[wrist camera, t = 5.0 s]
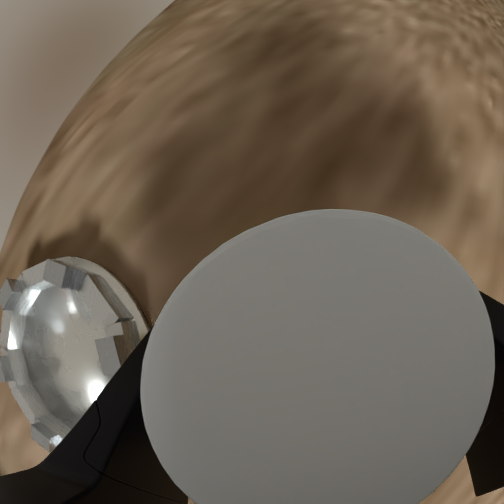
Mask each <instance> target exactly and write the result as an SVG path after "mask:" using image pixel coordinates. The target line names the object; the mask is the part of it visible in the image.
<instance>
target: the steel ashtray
mask: <svg viewBox="0 0 504 504" xmlns="http://www.w3.org/2000/svg"><path fill="white" fill-rule="evenodd" d="M0 304H1V307H2V309H3V316H2V326H1V339H0V346H2V347H3V348H0V349H1V354H2V356H0V382H8V383H9V387H10V389H12V391H11V392H12V394H13V396H14V397H15V399H16V401H17V403H18V404H19V406H20V408H21V409H22V411H23V412H24V414H25V416H26V417H27V419H28V420H29V422H30V423H31V435H32V439H34V440H35V441H36V442H37V443H38V444H40V445H41V446H42V447H43V448H45V449H46V450H47V451H48V452H51V451H53V450H54V448H55V447H56V446H57V445H58V444H59V443H60V442H61V441H62V440H63V438H64V437H65V436H66V435H67V434H68V433H69V432H70V430H71V429H72V428H73V427H74V426H75V425H76V423H77V422H78V421H79V420H80V419H81V417H82V416H83V415H84V413H85V412H86V411H87V410H88V408H89V407H90V406H91V404H92V403H93V402H94V400H97V399H96V398H97V396H98V395H99V394H100V393H101V391H102V390H103V389H104V387H105V386H106V385H107V383H108V382H109V381H110V380H111V378H112V377H113V376H114V374H115V373H116V372H117V370H118V369H119V368H120V367H121V365H122V364H123V363H124V361H125V360H126V359H127V358H128V356H129V355H130V354H131V353H132V351H133V350H134V349H135V348H136V346H137V345H138V344H139V342H140V341H141V340H142V339H143V337H144V336H145V335H146V334H147V332H148V331H149V330H150V327H149V325H148V322H147V320H146V318H145V316H144V314H143V312H142V310H141V308H140V307H139V305H138V303H137V301H136V300H135V298H134V297H133V296H132V294H131V293H130V291H129V290H128V289H127V288H126V287H125V285H124V284H123V283H122V282H121V281H120V280H119V279H118V278H117V277H116V276H115V275H113V274H112V273H111V272H110V271H109V270H107V269H105V268H104V267H102V266H101V265H99V264H97V263H94V262H92V261H90V260H86V259H82V258H78V257H60V258H56V259H47V260H46V261H44V262H41V263H39V264H37V265H35V266H33V267H31V268H29V269H27V270H25V271H23V272H22V273H21V274H20V275H19V277H18V279H17V280H15V279H9V278H7V279H6V280H5V282H4V284H3V286H2V288H1V290H0Z"/></svg>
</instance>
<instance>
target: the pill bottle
mask: <svg viewBox="0 0 504 504" xmlns="http://www.w3.org/2000/svg"><path fill="white" fill-rule="evenodd" d="M494 355H495V349H494V340H493V333H492V328H491V323H490V319H489V316H488V312H487V309H486V306H485V304H484V301H483V299H482V297H481V295H480V293H479V290H478V289H477V287H476V285H475V284H474V282H473V281H472V279H471V278H470V276H469V275H468V273H467V272H466V270H465V269H464V268H463V267H462V266H461V265H460V263H459V262H458V261H457V260H456V259H455V258H454V257H453V256H452V255H451V254H450V253H449V252H448V251H447V250H446V249H445V248H444V247H442V246H441V245H440V244H439V243H437V242H436V241H435V240H433V239H432V238H430V237H428V236H427V235H426V234H424V233H423V232H422V231H420V230H418V229H416V228H414V227H412V226H411V225H408V224H406V223H404V222H401V221H399V220H397V219H394V218H391V217H389V216H385V215H381V214H377V213H373V212H366V211H358V210H347V209H321V210H310V211H305V212H300V213H294V214H289V215H285V216H282V217H278V218H275V219H273V220H270V221H268V222H265V223H263V224H261V225H258V226H256V227H253V228H251V229H248V230H246V231H244V232H242V233H241V234H239V235H237V236H235V237H234V238H232V239H230V240H228V241H227V242H225V243H223V244H222V245H220V246H219V247H218V248H217V249H216V250H214V251H213V252H212V253H211V254H209V255H208V256H207V257H205V258H204V259H203V260H202V261H201V262H200V263H199V264H198V265H197V266H196V267H195V268H194V269H193V270H192V271H191V272H190V273H189V274H188V275H187V276H186V277H185V278H184V279H183V280H182V281H181V282H180V284H179V285H178V286H177V288H176V289H175V290H174V292H173V293H172V295H171V296H170V298H169V299H168V301H167V302H166V304H165V305H164V307H163V309H162V311H161V313H160V314H159V316H158V318H157V320H156V322H155V324H154V327H153V329H152V331H151V334H150V337H149V340H148V344H147V347H146V351H145V354H144V358H143V364H142V373H141V387H140V396H141V406H142V414H143V419H144V424H145V428H146V431H147V434H148V437H149V439H150V442H151V445H152V447H153V449H154V451H155V453H156V455H157V457H158V459H159V461H160V463H161V465H162V466H163V468H164V469H165V471H166V472H167V474H168V475H169V476H170V478H171V479H172V480H173V482H174V483H175V484H176V485H177V486H178V487H179V488H180V489H181V490H182V491H183V492H184V493H185V494H186V495H187V496H188V497H189V498H190V499H191V500H192V501H193V502H195V503H196V504H418V503H420V502H421V501H422V500H423V499H425V498H426V497H427V496H429V495H430V494H431V493H432V492H434V491H435V490H436V489H437V488H438V487H439V485H440V484H441V483H443V482H444V481H445V480H446V479H447V478H448V477H449V476H450V474H451V473H452V472H453V471H454V469H455V468H456V467H457V466H458V464H459V463H460V462H461V460H462V459H463V457H464V456H465V454H466V453H467V451H468V450H469V448H470V447H471V445H472V443H473V441H474V439H475V437H476V435H477V433H478V431H479V429H480V427H481V424H482V422H483V419H484V416H485V413H486V410H487V407H488V404H489V400H490V396H491V392H492V387H493V382H494V371H495V357H494Z"/></svg>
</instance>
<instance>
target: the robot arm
mask: <svg viewBox="0 0 504 504" xmlns="http://www.w3.org/2000/svg"><path fill="white" fill-rule="evenodd" d="M479 293H480V295H481V297H482V299H483V301H484V304H485V306H486V309H487V312H488V316H489V319H490V323H491V328H492V333H493V340H494V349H495V355H494V357H495V371H494V382H493V387H492V392H491V396H490V400H489V404H488V407H487V410H486V413H485V416H484V419H483V422H482V424H481V427H480V429H479V431H478V433H477V435H476V437H475V439H474V441H473V443H472V445H471V447H470V448H469V450H468V451H467V453H466V458H467V462H468V465H469V469H470V473H471V478H472V482H473V486H474V491H475V495H476V497H477V496H480V495H483V494H486V493H489V492H491V491H494V490H497V489H499V488H502V487H504V305H503V304H501V303H500V302H498V301H496V300H495V299H493V298H491V297H489V296H488V295H486V294H484V293H482V292H481V291H479ZM153 327H154V325H153V326H152V327H151V329H150V330H149V331H148V332H147V334H146V335H145V336H144V337H143V339H142V340H141V341H140V342H139V344H138V345H137V346H136V348H135V349H134V350H133V351H132V353H131V354H130V355H129V356H128V358H127V359H126V360H125V361H124V363H123V364H122V365H121V367H120V368H119V369H118V370H117V372H116V373H115V374H114V376H113V377H112V378H111V380H110V381H109V382H108V383H107V385H106V386H105V387H104V389H103V390H102V391H101V393H100V394H99V395H98V396H97V398H96V399H97V400H94V402H93V403H92V404H91V406H90V407H89V408H88V410H87V411H86V412H85V413H84V415H83V416H82V417H81V419H80V420H79V421H78V422H77V423H76V425H75V426H74V427H73V428H72V429H71V430H70V432H69V433H68V434H67V435H66V436H65V437H64V438H63V440H62V441H61V442H60V443H59V444H58V445H57V446H56V447H55V448H54V450H53V451H52V452H51V453H50V454H49V455H48V456H47V457H46V458H45V459H44V460H43V461H42V462H41V463H40V464H38V465H37V466H35V467H33V468H31V469H28V470H24V471H20V472H16V473H12V474H8V475H3V476H0V504H187V503H188V496H187V495H186V494H185V493H184V492H183V491H182V490H181V489H180V488H179V487H178V486H177V485H176V484H175V483H174V482H173V480H172V479H171V478H170V476H169V475H168V474H167V472H166V471H165V469H164V468H163V466H162V465H161V463H160V461H159V459H158V457H157V455H156V453H155V451H154V449H153V447H152V445H151V442H150V439H149V437H148V434H147V431H146V428H145V424H144V419H143V414H142V406H141V396H140V387H141V373H142V364H143V358H144V354H145V351H146V347H147V344H148V340H149V337H150V334H151V331H152V329H153Z"/></svg>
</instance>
